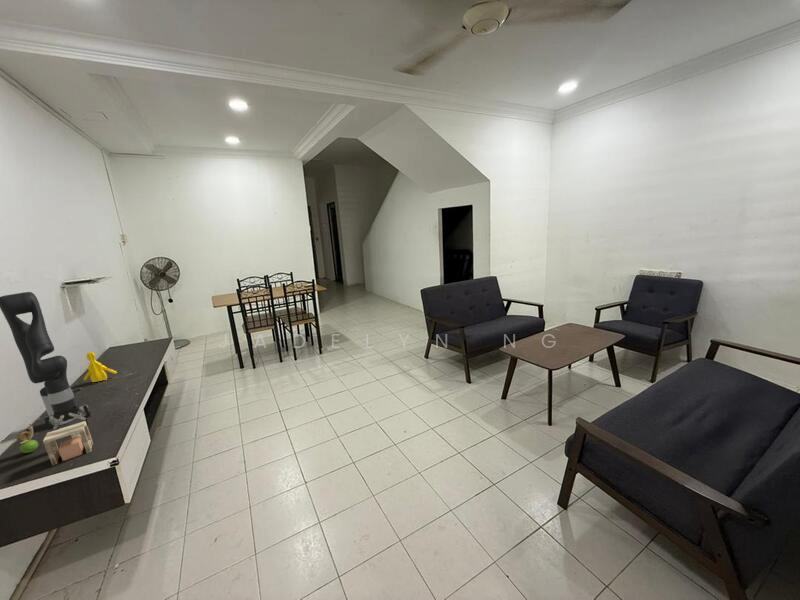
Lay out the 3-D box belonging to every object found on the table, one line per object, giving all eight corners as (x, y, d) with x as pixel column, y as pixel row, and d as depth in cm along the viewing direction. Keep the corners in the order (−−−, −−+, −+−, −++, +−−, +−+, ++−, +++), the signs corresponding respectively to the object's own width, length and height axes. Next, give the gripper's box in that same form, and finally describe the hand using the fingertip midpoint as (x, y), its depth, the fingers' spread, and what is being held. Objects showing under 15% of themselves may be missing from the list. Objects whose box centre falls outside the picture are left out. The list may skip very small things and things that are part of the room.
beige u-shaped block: (56, 456, 138) (47, 432, 135) (93, 443, 145) (85, 420, 142) (52, 465, 132) (42, 441, 130) (91, 451, 139) (82, 428, 137)
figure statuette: (119, 375, 221) (110, 346, 216) (115, 379, 214) (106, 349, 209) (86, 382, 213) (76, 352, 208) (81, 387, 206) (70, 356, 201)
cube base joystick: (69, 443, 146) (64, 429, 145) (87, 437, 150) (82, 424, 148) (63, 461, 135) (57, 446, 133) (82, 454, 138) (76, 439, 136)
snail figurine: (45, 445, 147) (36, 423, 144) (30, 455, 140) (20, 432, 138) (34, 446, 147) (25, 424, 144) (18, 456, 140) (8, 433, 138)
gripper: (85, 390, 149) (95, 420, 153) (41, 402, 141) (53, 434, 144) (82, 396, 143) (93, 427, 147) (36, 409, 135) (49, 441, 138)
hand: (73, 430), depth 145 cm, fingers open, 8 cm apart
